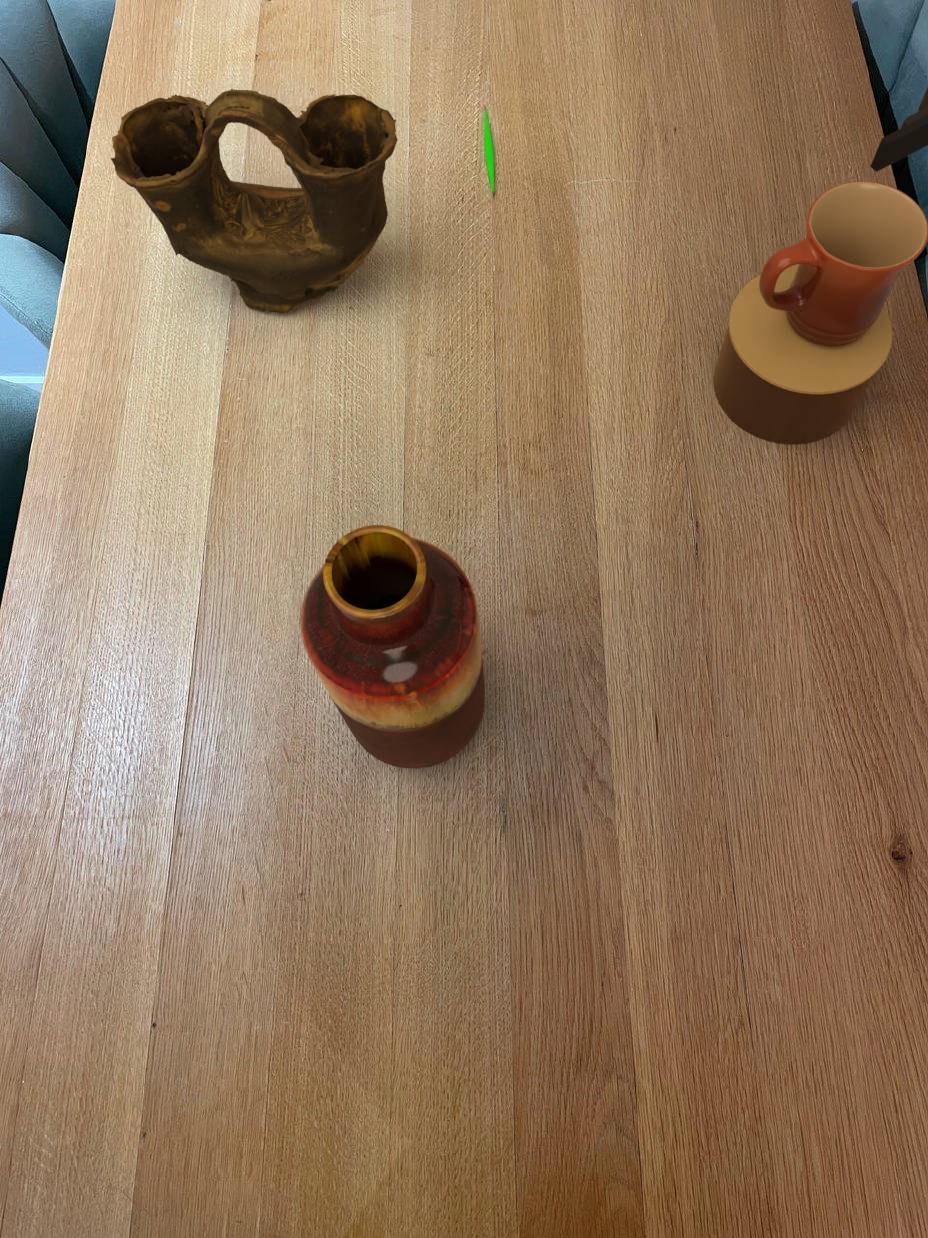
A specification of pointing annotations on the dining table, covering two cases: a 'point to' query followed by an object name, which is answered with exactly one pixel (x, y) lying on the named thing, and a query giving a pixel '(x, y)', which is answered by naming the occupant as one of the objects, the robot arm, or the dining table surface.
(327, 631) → the vase
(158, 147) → the pottery vessel
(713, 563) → the dining table surface
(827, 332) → the mug
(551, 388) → the dining table surface
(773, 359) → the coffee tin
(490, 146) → the leaf
